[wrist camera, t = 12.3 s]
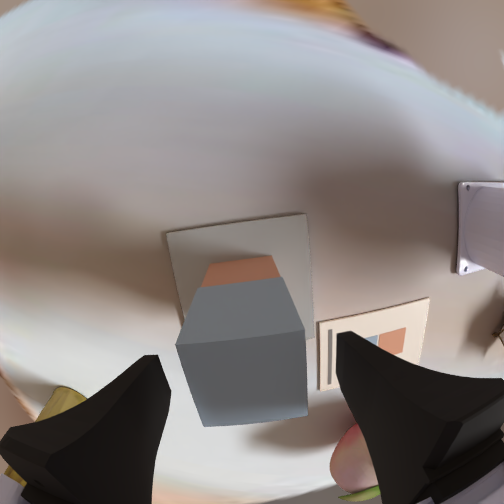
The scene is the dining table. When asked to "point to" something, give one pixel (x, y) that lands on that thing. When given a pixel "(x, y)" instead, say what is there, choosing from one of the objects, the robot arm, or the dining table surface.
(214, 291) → the brick blue
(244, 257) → the plate
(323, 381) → the card
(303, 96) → the dining table surface
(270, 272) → the brick terracotta
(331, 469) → the decorative fruit
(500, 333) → the game die
